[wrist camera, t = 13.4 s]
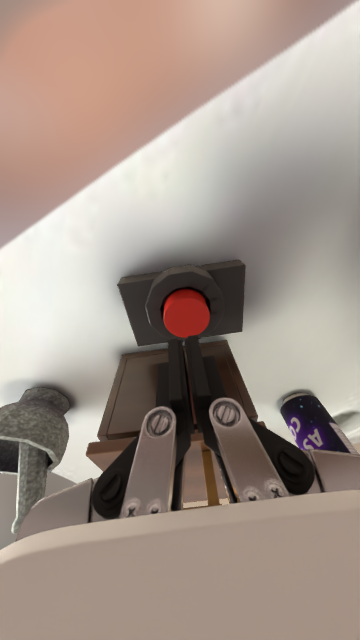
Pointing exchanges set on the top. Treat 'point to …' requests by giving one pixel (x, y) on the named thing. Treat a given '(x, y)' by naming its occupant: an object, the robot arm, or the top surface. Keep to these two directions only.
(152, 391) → the brown open box
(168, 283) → the control block
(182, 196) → the top surface
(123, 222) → the top surface
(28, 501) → the mortar and pestle
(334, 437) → the beverage can
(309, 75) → the top surface
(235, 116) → the top surface
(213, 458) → the wooden box lid
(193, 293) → the button
